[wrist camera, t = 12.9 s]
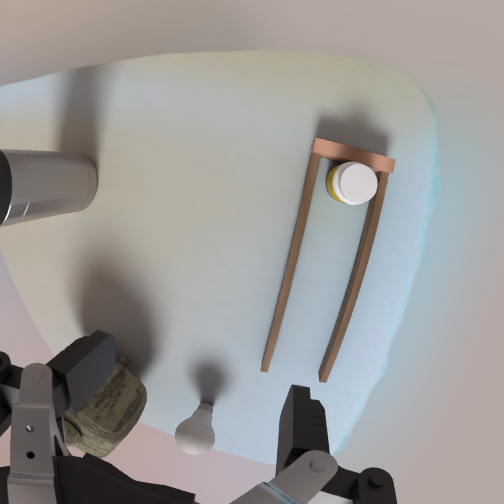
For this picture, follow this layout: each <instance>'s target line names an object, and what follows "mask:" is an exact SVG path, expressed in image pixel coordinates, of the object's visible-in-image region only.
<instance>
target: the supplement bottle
mask: <svg viewBox="0 0 504 504" xmlns="http://www.w3.org/2000/svg"><path fill="white" fill-rule="evenodd" d="M325 185H326V189H327V192H328V193H329V195H330V196H331V197H332V198H333V199H335V200H336V201H339V202H343V203H346V204H350V205H358V204H361V203H363V202H366V201H368V200H370V199H371V198H372V197H373V196H374V194H375V193H376V190H377V178H376V175H375V173H374V172H373V171H372V169H371V168H369V167H368V166H366V165H364V164H361V163H358V162H347V163H344V164H341V165H338V166H336V167H334V168H333V169H331V170H330V171H329V173H328V174H327V177H326V181H325Z"/></svg>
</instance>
